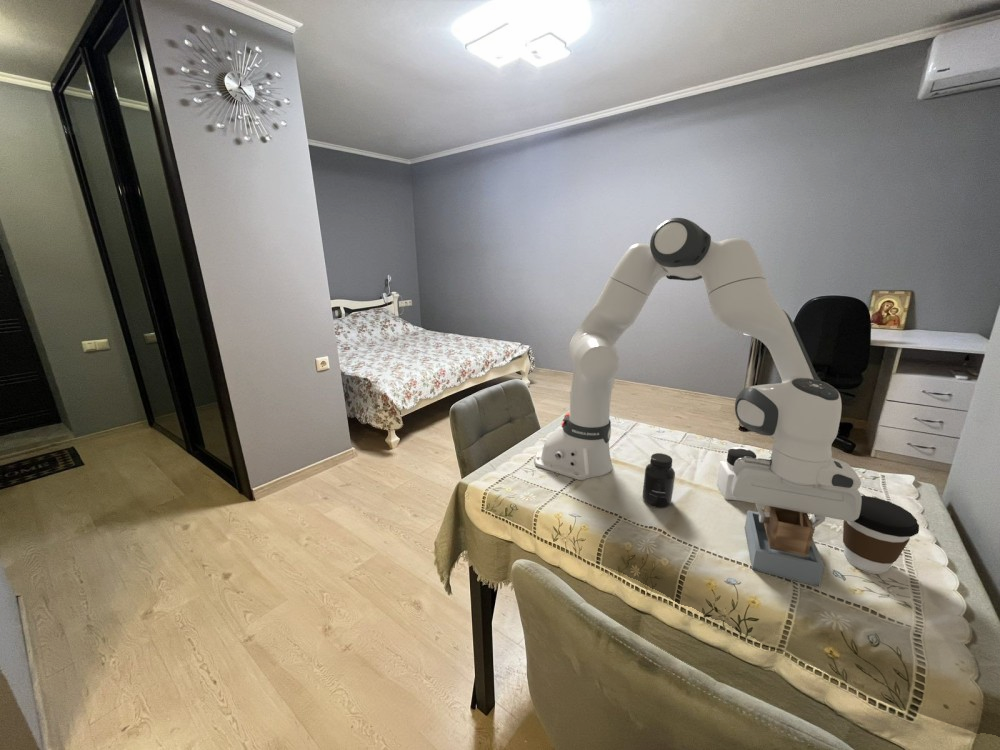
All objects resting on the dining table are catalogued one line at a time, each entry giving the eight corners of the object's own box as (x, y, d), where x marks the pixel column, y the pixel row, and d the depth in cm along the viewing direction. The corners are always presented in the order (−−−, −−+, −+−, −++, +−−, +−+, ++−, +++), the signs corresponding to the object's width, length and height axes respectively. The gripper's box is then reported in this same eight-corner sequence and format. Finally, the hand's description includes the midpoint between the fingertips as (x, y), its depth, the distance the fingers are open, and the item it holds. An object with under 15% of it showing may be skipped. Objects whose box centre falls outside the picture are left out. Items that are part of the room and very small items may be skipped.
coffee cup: (832, 568, 78) (846, 516, 74) (827, 536, 87) (839, 488, 83) (909, 593, 72) (929, 537, 69) (896, 556, 81) (912, 504, 77)
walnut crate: (769, 548, 78) (775, 522, 76) (763, 520, 85) (767, 496, 84) (807, 557, 75) (814, 530, 73) (797, 527, 83) (802, 502, 81)
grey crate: (752, 569, 78) (755, 550, 77) (744, 527, 90) (747, 510, 89) (819, 586, 74) (824, 566, 73) (801, 540, 86) (806, 522, 84)
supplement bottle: (653, 511, 96) (658, 466, 93) (636, 495, 103) (640, 453, 99) (677, 505, 98) (683, 461, 95) (659, 490, 104) (664, 449, 101)
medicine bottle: (756, 502, 99) (764, 459, 95) (724, 499, 100) (731, 456, 96) (745, 486, 105) (752, 445, 102) (715, 484, 107) (722, 443, 103)
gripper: (737, 462, 78) (727, 522, 82) (873, 483, 69) (854, 550, 73) (734, 447, 83) (725, 505, 87) (859, 466, 75) (843, 528, 79)
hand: (785, 526), depth 80 cm, fingers closed on walnut crate, 6 cm apart
